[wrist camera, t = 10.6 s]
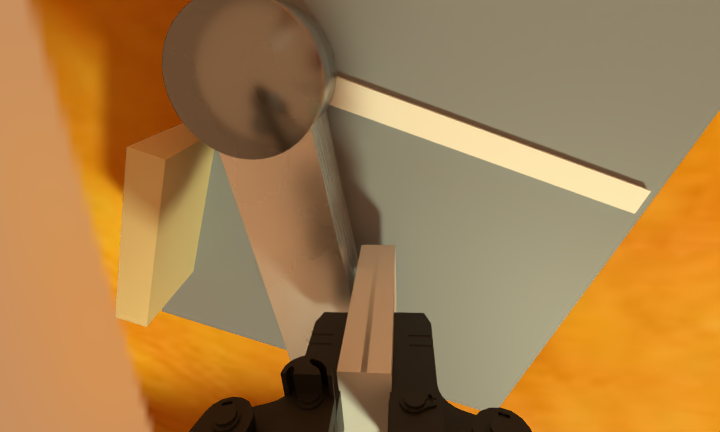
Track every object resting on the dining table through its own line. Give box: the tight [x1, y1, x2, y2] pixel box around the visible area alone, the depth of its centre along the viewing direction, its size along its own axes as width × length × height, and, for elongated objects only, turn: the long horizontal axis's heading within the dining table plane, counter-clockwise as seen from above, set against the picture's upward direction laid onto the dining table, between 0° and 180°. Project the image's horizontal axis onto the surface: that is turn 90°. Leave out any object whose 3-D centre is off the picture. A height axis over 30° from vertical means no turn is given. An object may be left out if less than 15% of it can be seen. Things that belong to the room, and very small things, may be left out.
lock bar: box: [162, 0, 358, 361], centre depth 14 cm, size 14×4×3 cm, turn 10°
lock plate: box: [116, 0, 720, 411], centre depth 13 cm, size 26×18×5 cm
